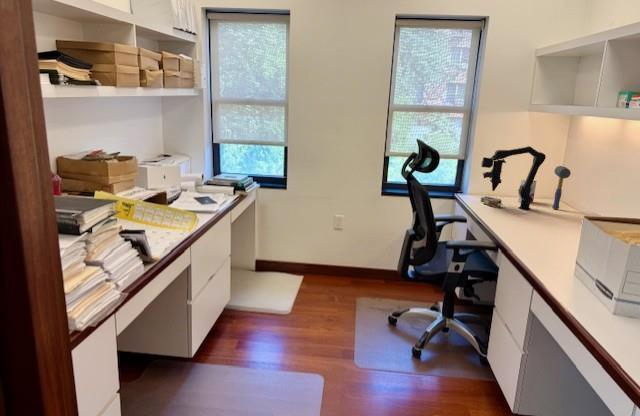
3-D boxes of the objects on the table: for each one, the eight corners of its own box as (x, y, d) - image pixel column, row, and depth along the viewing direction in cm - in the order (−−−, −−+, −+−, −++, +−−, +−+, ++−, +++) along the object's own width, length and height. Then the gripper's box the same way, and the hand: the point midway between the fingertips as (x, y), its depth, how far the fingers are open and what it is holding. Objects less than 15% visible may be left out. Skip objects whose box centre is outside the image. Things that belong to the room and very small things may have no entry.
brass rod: (483, 204, 305) (483, 200, 304) (485, 204, 307) (485, 200, 306) (498, 208, 298) (499, 203, 297) (500, 207, 300) (501, 203, 299)
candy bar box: (527, 200, 323) (530, 179, 319) (533, 202, 319) (537, 180, 315) (517, 201, 318) (521, 180, 314) (523, 203, 314) (527, 181, 310)
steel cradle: (485, 200, 318) (486, 196, 318) (500, 203, 311) (500, 199, 310) (480, 201, 313) (481, 197, 312) (495, 204, 305) (495, 200, 305)
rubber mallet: (564, 212, 294) (572, 168, 286) (552, 211, 295) (560, 167, 288) (558, 207, 306) (566, 165, 298) (546, 206, 307) (554, 164, 300)
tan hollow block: (492, 204, 306) (493, 198, 304) (500, 206, 301) (501, 200, 300) (487, 206, 301) (488, 199, 300) (496, 207, 297) (497, 201, 296)
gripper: (483, 165, 306) (480, 186, 310) (485, 169, 289) (481, 191, 293) (500, 167, 303) (496, 188, 308) (503, 171, 286) (499, 194, 290)
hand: (493, 190), depth 300 cm, fingers closed
